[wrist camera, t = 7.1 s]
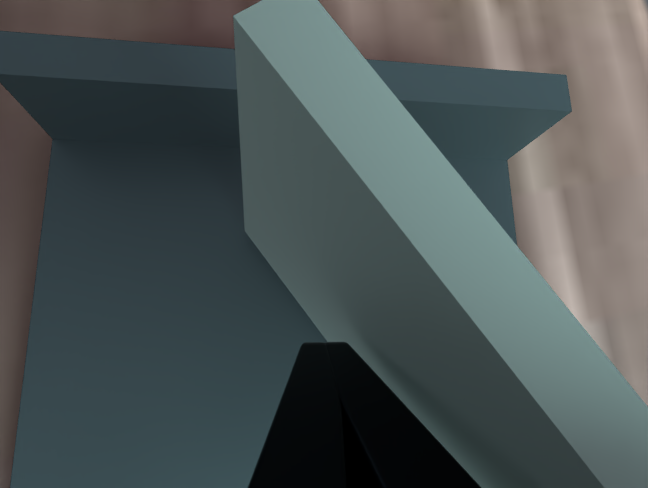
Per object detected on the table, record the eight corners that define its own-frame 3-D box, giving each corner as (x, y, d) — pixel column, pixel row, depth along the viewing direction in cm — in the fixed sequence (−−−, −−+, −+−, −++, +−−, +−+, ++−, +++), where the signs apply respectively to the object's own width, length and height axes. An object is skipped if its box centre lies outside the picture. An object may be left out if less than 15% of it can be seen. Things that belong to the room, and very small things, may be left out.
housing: (535, 588, 13) (660, 693, 9) (11, 643, 11) (-125, 809, 7) (487, 144, 16) (566, 74, 12) (70, 122, 14) (-2, 30, 10)
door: (506, 594, 11) (1094, 1152, 3) (238, 235, 12) (214, 25, 4) (539, 557, 11) (1148, 989, 4) (276, 210, 12) (316, -30, 5)
